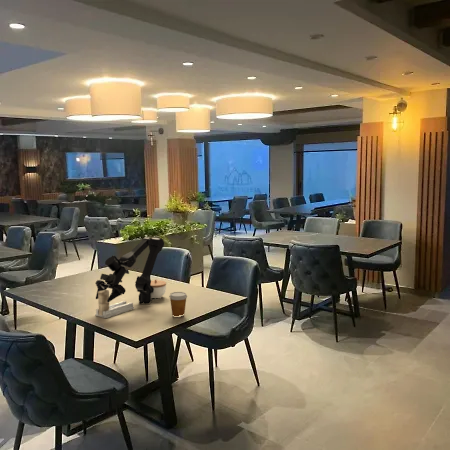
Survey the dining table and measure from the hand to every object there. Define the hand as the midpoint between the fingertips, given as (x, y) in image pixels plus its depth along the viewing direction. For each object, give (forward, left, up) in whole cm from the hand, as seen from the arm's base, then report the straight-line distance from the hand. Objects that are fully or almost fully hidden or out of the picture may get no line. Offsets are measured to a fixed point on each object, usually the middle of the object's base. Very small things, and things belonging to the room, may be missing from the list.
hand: (101, 300), depth 245 cm
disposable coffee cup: (-40, -2, -9) cm, 41 cm away
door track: (-5, -7, -9) cm, 12 cm away
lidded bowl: (-23, -36, -9) cm, 44 cm away
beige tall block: (-1, -1, -8) cm, 8 cm away
